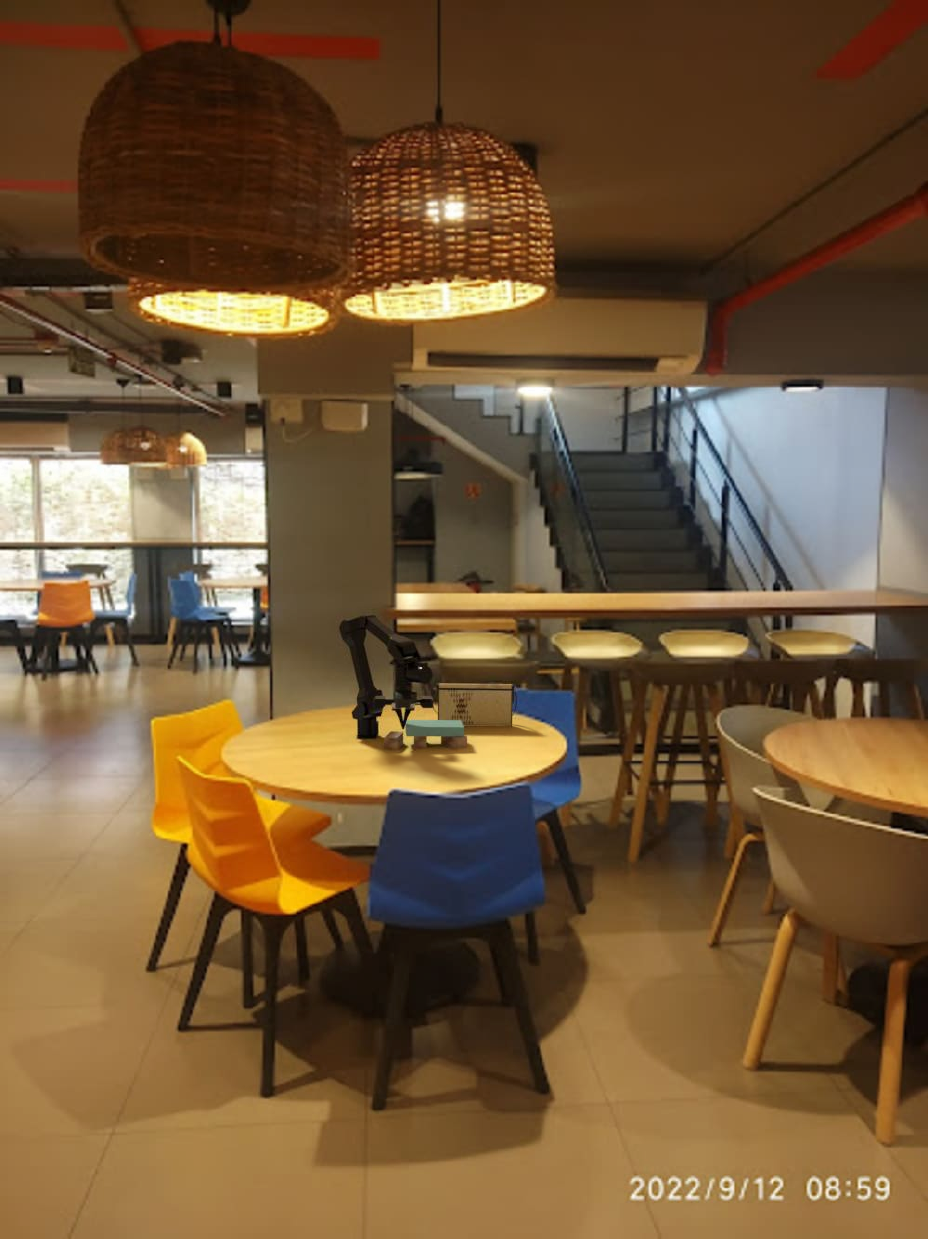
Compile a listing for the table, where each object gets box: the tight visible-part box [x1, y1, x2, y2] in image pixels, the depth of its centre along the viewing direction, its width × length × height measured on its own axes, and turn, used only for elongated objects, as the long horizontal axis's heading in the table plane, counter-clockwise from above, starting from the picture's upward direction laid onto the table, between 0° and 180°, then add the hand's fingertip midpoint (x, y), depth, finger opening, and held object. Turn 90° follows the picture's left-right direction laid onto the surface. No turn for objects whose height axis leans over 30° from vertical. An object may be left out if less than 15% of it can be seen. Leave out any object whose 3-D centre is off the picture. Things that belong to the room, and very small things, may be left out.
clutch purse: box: [431, 682, 519, 727], centre depth 309 cm, size 30×7×15 cm, turn 88°
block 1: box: [383, 731, 404, 751], centre depth 281 cm, size 4×8×4 cm, turn 170°
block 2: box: [413, 736, 428, 750], centre depth 282 cm, size 4×8×4 cm, turn 3°
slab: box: [404, 719, 465, 737], centre depth 283 cm, size 18×9×3 cm, turn 96°
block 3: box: [440, 735, 468, 750], centre depth 282 cm, size 8×4×4 cm, turn 42°
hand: (403, 728), depth 281 cm, fingers closed
